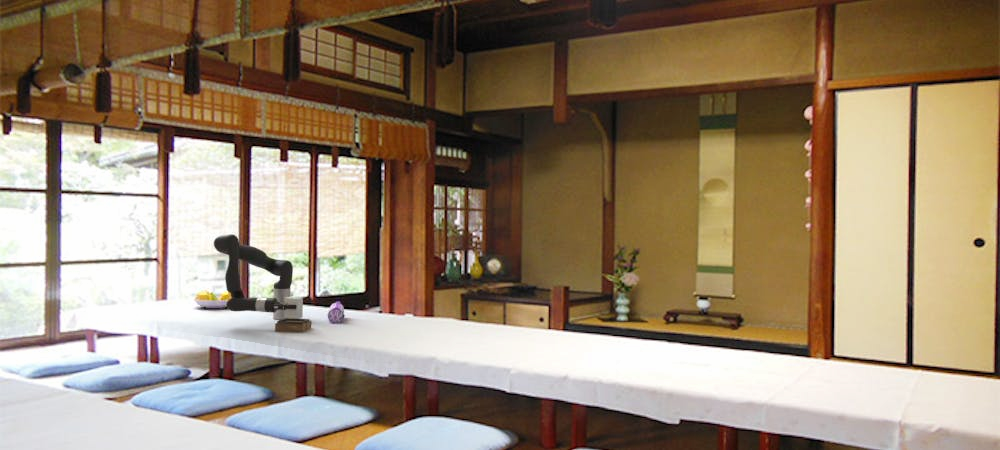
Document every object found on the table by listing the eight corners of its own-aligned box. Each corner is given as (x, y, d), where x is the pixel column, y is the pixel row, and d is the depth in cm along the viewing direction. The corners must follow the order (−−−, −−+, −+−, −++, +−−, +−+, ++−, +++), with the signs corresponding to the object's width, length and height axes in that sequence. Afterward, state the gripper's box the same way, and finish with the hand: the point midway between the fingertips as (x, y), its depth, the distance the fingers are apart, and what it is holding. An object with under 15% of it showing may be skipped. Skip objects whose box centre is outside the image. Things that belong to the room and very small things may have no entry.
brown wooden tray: (285, 327, 373) (285, 317, 373) (311, 328, 372) (311, 318, 372) (275, 331, 359) (275, 321, 359) (301, 332, 358) (302, 322, 358)
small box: (302, 317, 368) (303, 297, 368) (298, 319, 362) (299, 298, 362) (287, 316, 369) (288, 296, 368) (283, 318, 363) (284, 297, 363)
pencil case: (344, 323, 390) (344, 306, 390) (327, 323, 388) (327, 306, 388) (343, 317, 412) (344, 301, 411) (327, 317, 409) (327, 301, 409)
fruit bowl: (208, 303, 456) (208, 286, 455) (247, 305, 452) (248, 288, 452) (182, 309, 428) (183, 291, 428) (224, 311, 424) (225, 292, 424)
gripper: (261, 299, 359) (293, 300, 358) (272, 296, 373) (303, 297, 372) (260, 314, 359) (293, 315, 358) (271, 310, 374) (303, 311, 372)
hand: (298, 306), depth 365 cm, fingers closed on small box, 5 cm apart
